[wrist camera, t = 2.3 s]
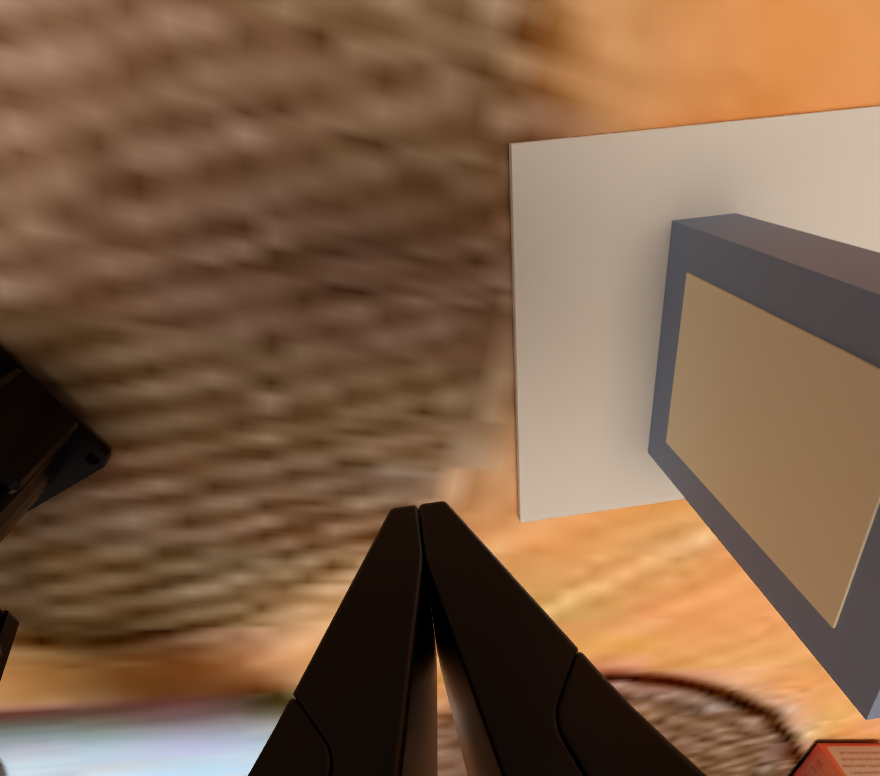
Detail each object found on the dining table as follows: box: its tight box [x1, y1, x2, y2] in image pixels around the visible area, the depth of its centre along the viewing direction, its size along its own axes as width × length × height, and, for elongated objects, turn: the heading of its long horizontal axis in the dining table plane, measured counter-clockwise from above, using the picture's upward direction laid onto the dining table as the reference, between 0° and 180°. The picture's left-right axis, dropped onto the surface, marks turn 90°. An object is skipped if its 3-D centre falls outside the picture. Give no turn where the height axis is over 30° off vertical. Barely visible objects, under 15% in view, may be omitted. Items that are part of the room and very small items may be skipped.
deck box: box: [648, 213, 880, 720], centre depth 17 cm, size 2×10×12 cm, turn 5°
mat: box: [509, 106, 880, 523], centre depth 22 cm, size 24×16×1 cm, turn 95°
